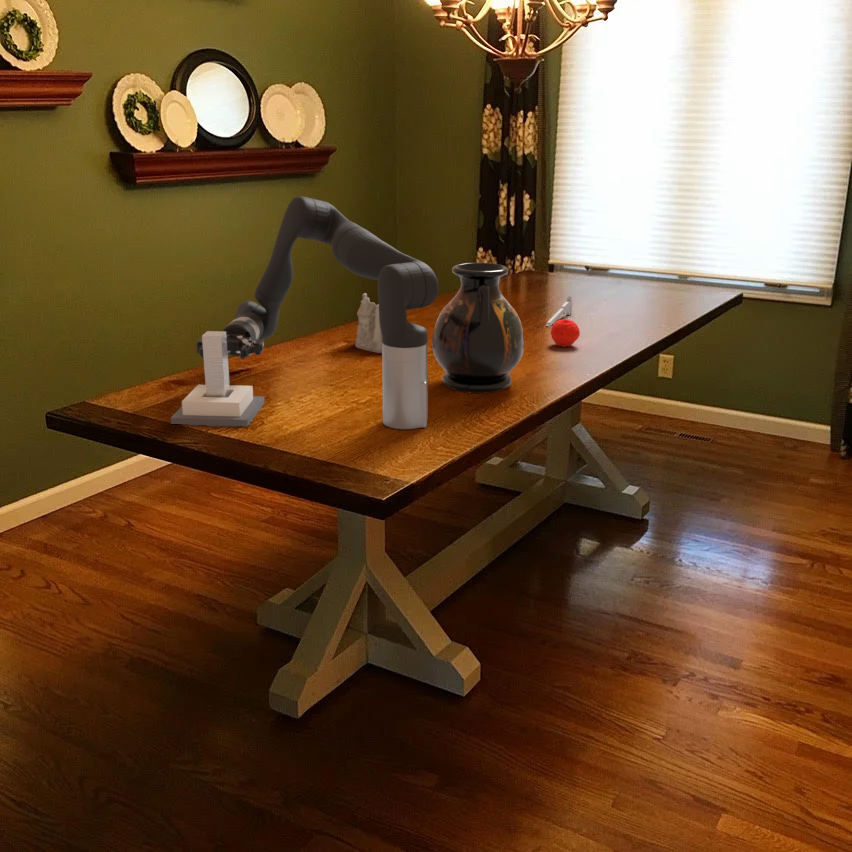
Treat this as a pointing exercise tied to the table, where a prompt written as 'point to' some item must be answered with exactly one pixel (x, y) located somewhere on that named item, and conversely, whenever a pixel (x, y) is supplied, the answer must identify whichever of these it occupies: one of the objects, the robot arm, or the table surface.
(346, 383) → the table surface
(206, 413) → the socket block
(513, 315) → the black painted vase
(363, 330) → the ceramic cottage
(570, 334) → the apple
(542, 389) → the table surface
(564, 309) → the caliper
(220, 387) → the steel peg
